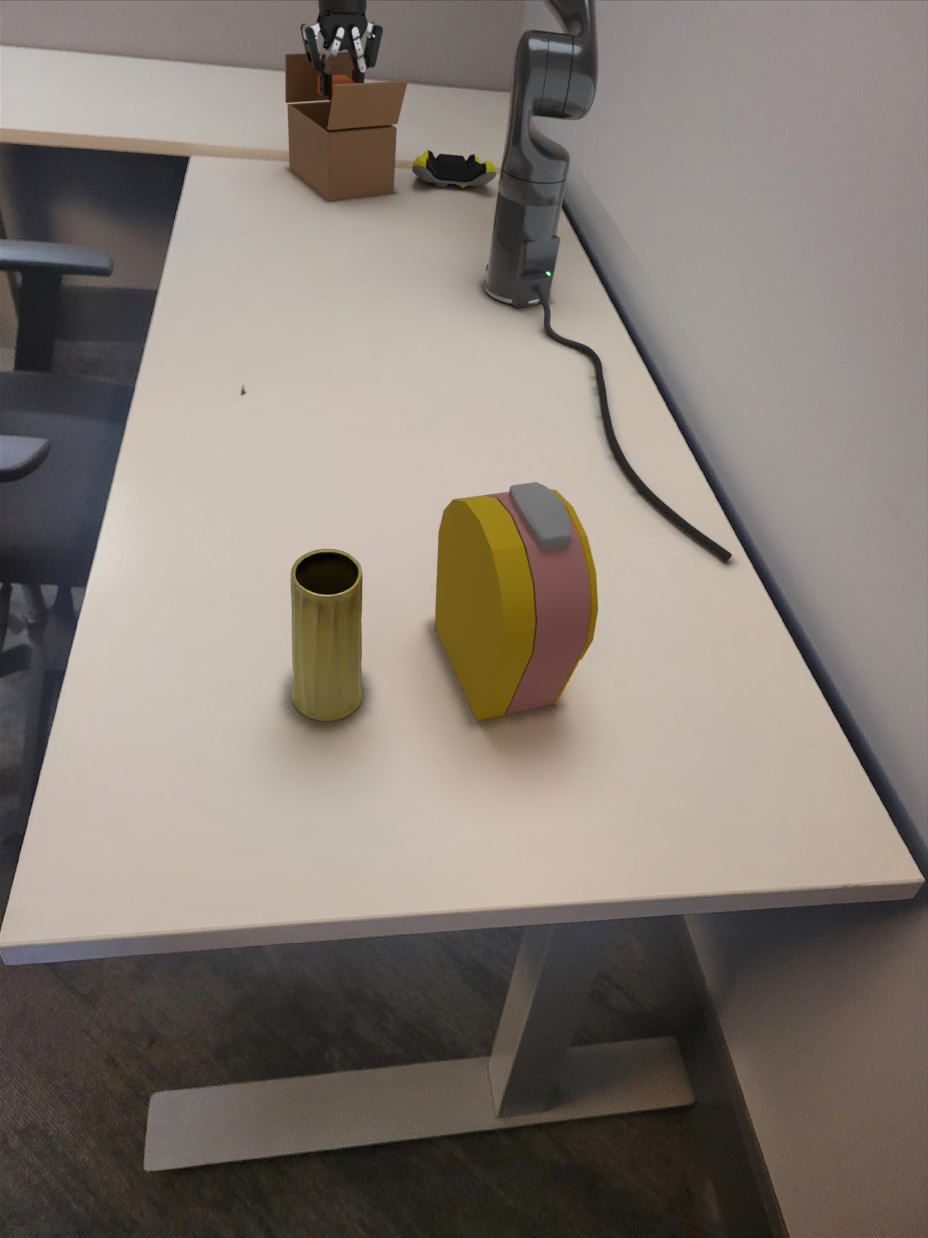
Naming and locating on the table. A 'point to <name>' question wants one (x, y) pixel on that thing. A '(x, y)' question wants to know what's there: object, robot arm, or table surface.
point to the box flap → (366, 104)
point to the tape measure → (514, 597)
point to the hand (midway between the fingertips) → (341, 96)
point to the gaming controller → (453, 170)
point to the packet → (337, 82)
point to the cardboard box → (334, 139)
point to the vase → (326, 634)
